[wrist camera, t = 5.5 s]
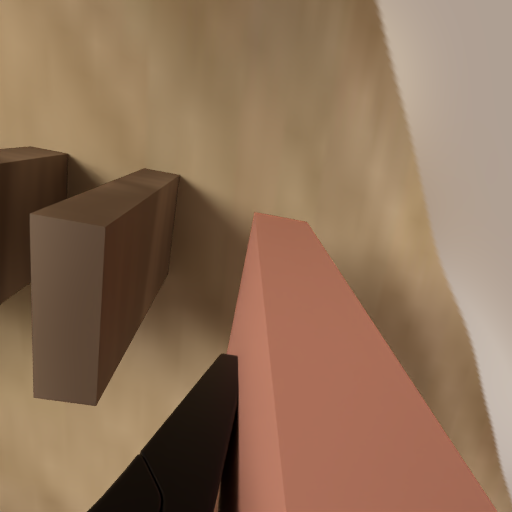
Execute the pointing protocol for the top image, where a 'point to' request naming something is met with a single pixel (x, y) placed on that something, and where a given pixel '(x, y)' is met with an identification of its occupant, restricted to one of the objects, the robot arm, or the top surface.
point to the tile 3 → (96, 280)
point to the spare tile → (326, 397)
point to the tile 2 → (25, 207)
